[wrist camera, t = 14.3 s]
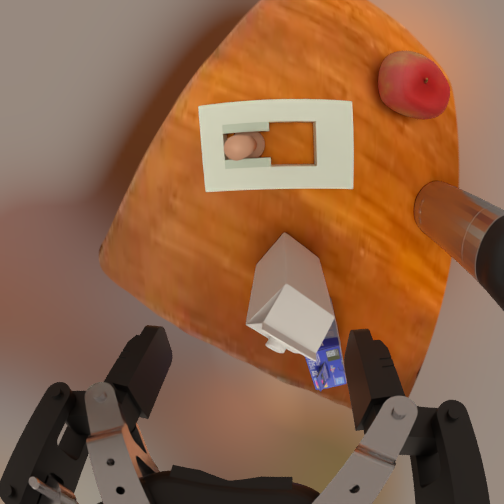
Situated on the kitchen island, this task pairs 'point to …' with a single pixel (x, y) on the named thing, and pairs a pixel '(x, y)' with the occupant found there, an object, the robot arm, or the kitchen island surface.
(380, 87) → the apple
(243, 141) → the headed peg
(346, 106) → the keyhole board
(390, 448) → the robot arm
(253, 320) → the milk carton
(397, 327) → the kitchen island surface
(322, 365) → the ink cartridge box
